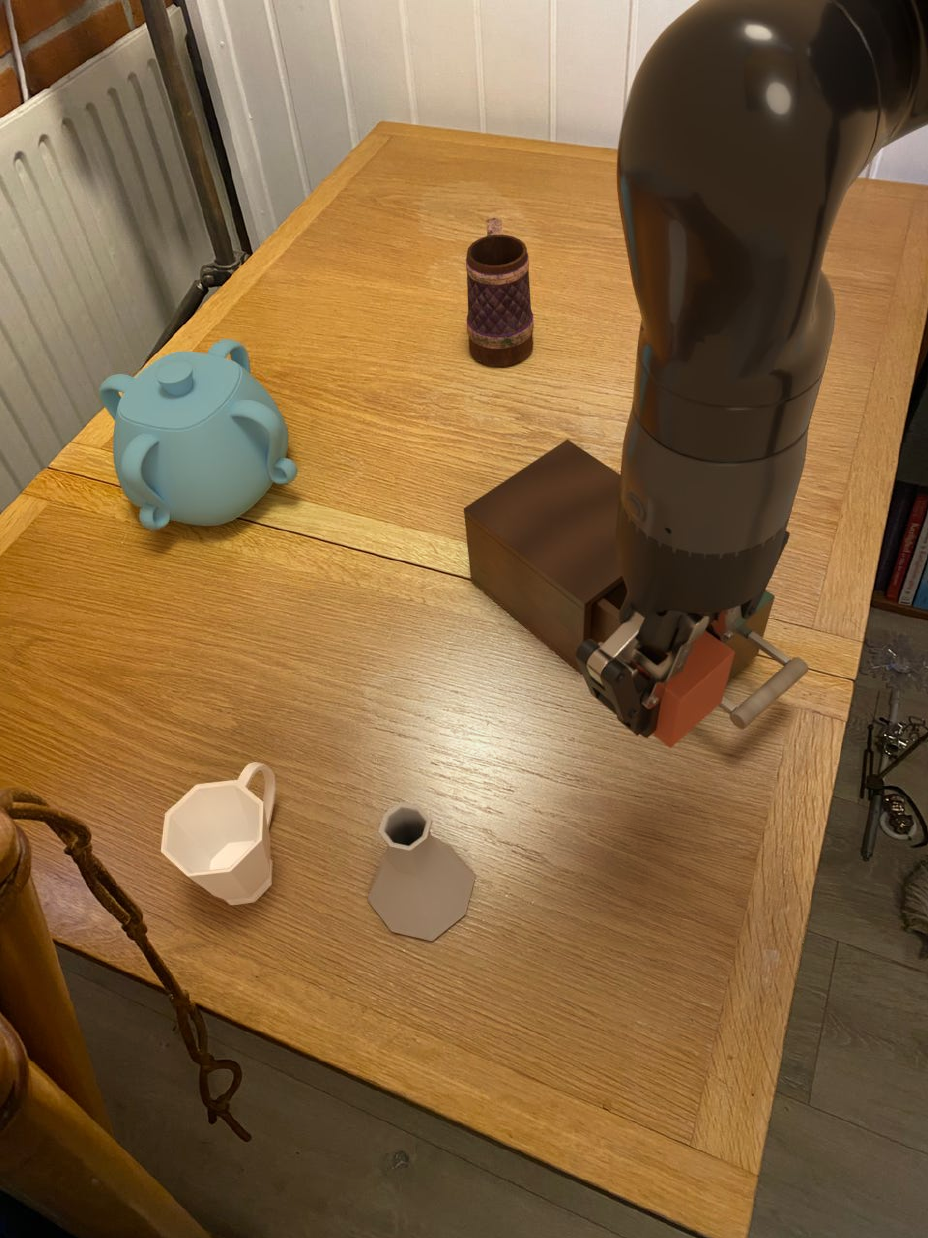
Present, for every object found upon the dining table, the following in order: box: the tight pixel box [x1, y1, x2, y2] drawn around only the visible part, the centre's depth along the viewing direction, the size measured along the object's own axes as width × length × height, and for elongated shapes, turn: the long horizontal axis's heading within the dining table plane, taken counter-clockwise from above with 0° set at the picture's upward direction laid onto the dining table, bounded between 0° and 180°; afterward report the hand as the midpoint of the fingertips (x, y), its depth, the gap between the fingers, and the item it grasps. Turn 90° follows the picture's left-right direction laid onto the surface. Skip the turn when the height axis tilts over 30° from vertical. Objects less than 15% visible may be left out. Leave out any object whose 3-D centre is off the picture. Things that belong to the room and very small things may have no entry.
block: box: [636, 630, 735, 749], centre depth 54 cm, size 4×4×5 cm
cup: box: [160, 761, 277, 906], centre depth 66 cm, size 7×10×8 cm
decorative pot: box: [98, 338, 298, 531], centre depth 88 cm, size 16×16×14 cm
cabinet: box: [463, 438, 624, 675], centre depth 78 cm, size 14×12×9 cm
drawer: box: [590, 580, 809, 730], centre depth 73 cm, size 17×10×7 cm, turn 41°
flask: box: [367, 801, 476, 942], centre depth 63 cm, size 7×7×10 cm
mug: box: [465, 217, 535, 367], centre depth 100 cm, size 10×7×12 cm
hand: (667, 697), depth 55 cm, fingers closed on block, 4 cm apart
